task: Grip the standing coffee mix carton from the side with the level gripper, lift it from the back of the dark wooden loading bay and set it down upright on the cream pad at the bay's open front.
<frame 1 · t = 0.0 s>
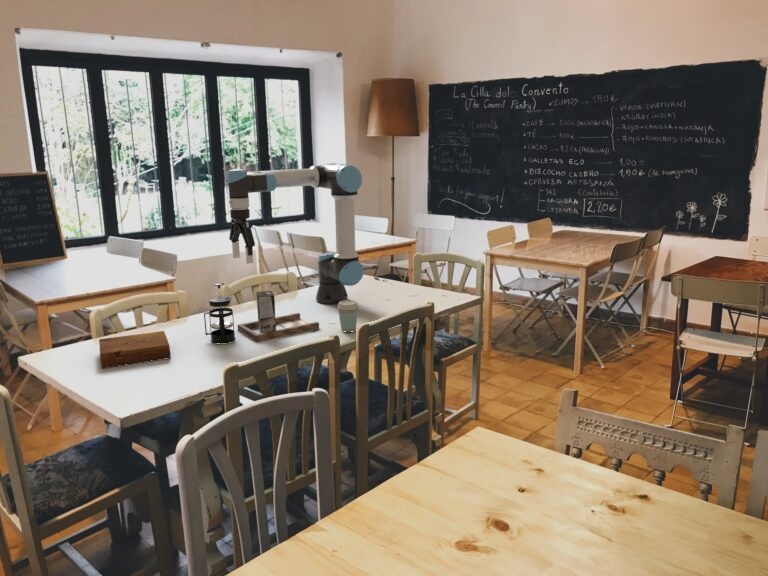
hand: (243, 260, 260), 28 cm above the table, tool pointing down, fingers open, 13 cm apart
french press: (221, 340, 249), on the table
coffee box: (267, 332, 259), resting in loading bay
loading bay: (278, 329, 261), on the table
coffee cup: (348, 331, 259), on the table
brown wooden flat block: (135, 357, 233), on the table
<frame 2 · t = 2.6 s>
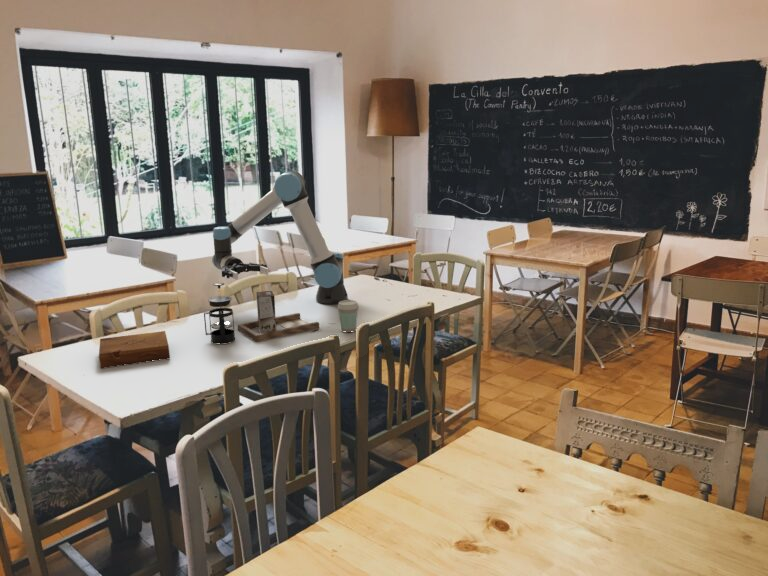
hand: (252, 274, 262), 22 cm above the table, tool horizontal, fingers open, 13 cm apart
nothing on the table moved.
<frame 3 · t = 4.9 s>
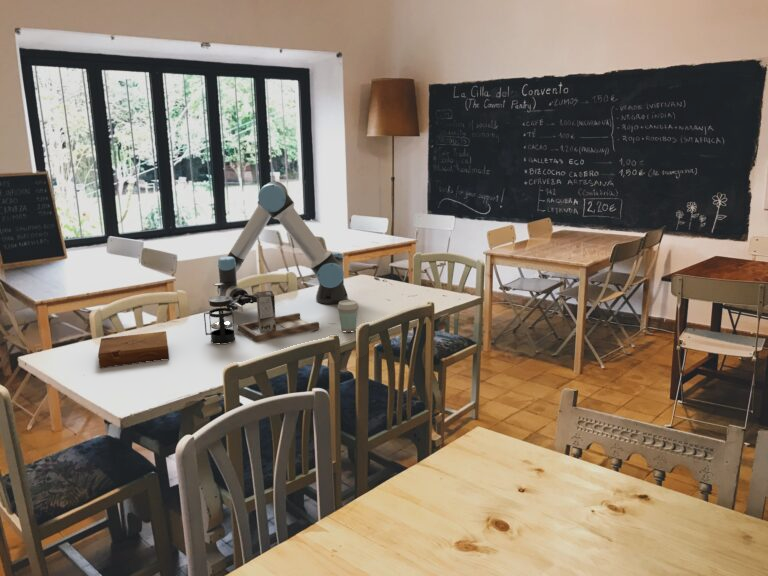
hand: (257, 306, 262), 9 cm above the table, tool horizontal, fingers open, 13 cm apart
nothing on the table moved.
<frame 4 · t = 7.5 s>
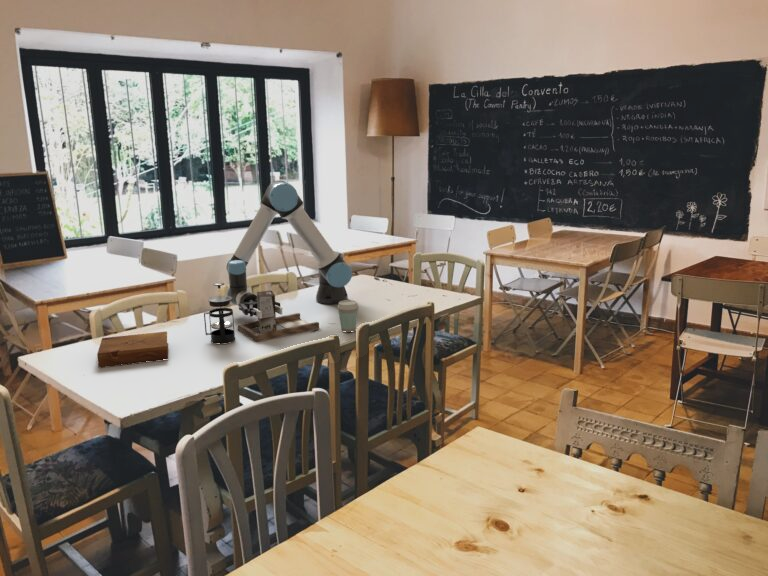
hand: (271, 313, 252), 9 cm above the table, tool horizontal, fingers closed on coffee box, 8 cm apart
coffee box: (267, 332, 259), resting in loading bay, touching gripper
everything else where it was.
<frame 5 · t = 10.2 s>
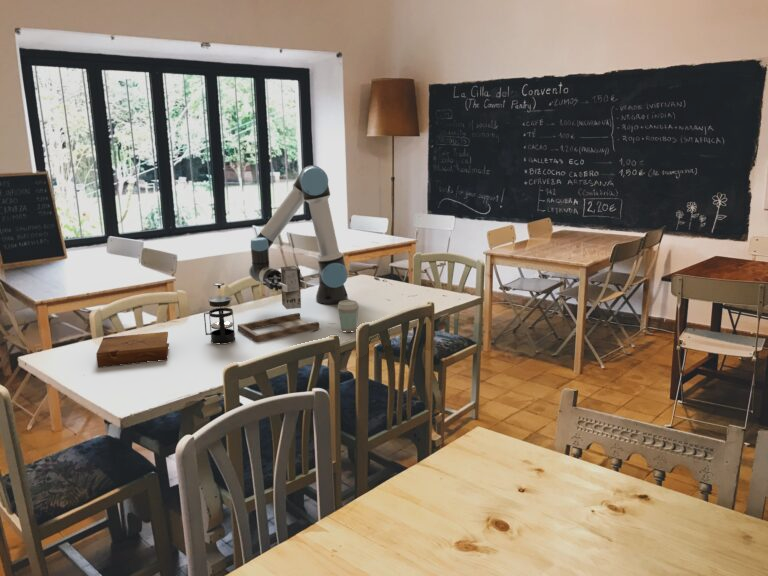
hand: (296, 287, 257), 18 cm above the table, tool horizontal, fingers closed on coffee box, 8 cm apart
coffee box: (291, 306, 263), point 9 cm above the table, touching gripper
when the fingers open (11 cm above the table, at t = 13.0 s): coffee box drops 1 cm, resting on loading bay.
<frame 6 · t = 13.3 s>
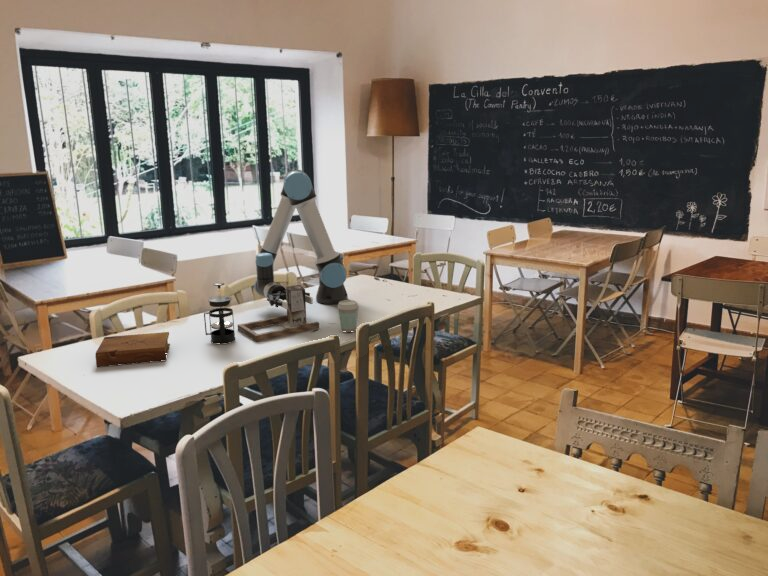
hand: (299, 303, 260), 11 cm above the table, tool horizontal, fingers open, 11 cm apart
coffee box: (297, 325, 266), resting on loading bay
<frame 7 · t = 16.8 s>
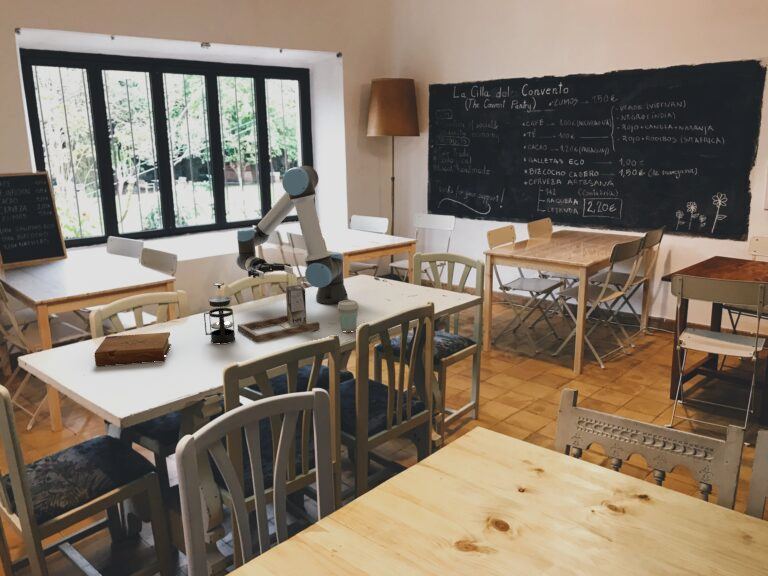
hand: (277, 273, 271), 20 cm above the table, tool horizontal, fingers open, 13 cm apart
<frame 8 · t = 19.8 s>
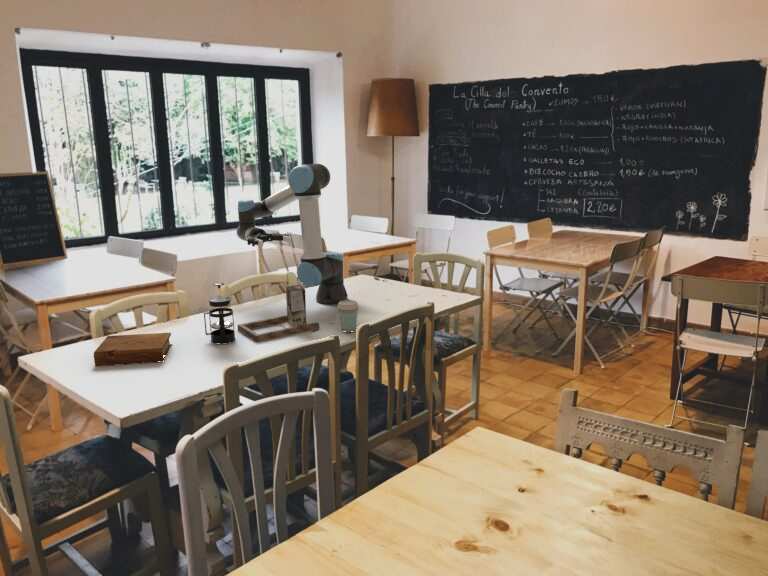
hand: (276, 242, 278), 32 cm above the table, tool horizontal, fingers open, 13 cm apart
at the end: coffee box inside the target area on the loading bay (0.8 cm from its centre), point 0.0 cm above the loading bay's base; coffee box tilted 0°; the gripper is holding nothing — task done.
